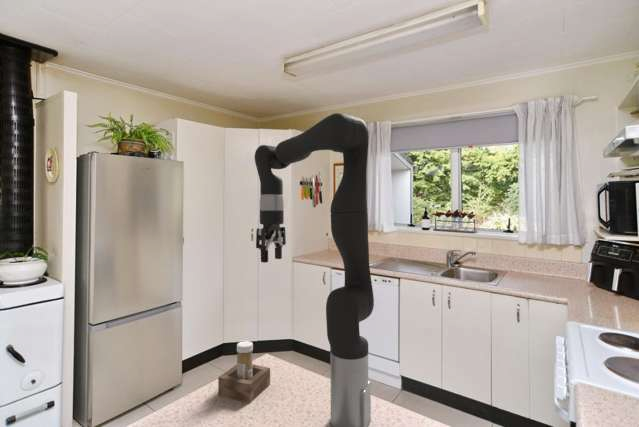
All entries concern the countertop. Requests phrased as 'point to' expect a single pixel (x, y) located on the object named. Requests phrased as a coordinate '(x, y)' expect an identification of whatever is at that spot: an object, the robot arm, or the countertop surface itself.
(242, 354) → the sprinkles bottle
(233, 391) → the frame
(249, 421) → the countertop surface
